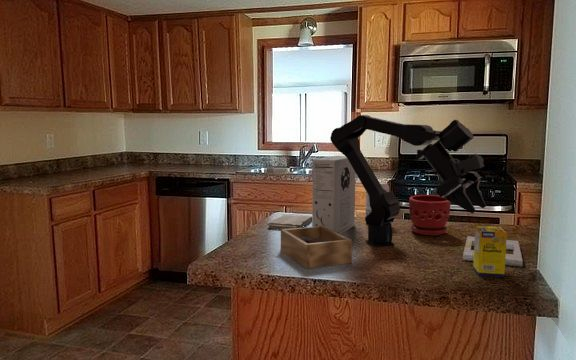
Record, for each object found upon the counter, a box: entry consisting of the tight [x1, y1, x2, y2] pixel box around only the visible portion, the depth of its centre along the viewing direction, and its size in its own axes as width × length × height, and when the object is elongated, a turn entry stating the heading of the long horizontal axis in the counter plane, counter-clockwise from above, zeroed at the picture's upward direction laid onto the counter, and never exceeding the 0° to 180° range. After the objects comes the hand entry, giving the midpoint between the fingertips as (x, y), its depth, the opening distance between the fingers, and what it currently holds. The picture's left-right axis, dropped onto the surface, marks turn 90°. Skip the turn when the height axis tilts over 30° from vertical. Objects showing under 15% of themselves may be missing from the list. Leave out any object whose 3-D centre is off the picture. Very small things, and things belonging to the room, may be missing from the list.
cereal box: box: [311, 155, 356, 235], centre depth 150 cm, size 22×8×25 cm, turn 154°
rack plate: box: [462, 235, 524, 267], centre depth 125 cm, size 22×14×2 cm, turn 155°
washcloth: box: [267, 214, 312, 231], centre depth 161 cm, size 12×18×3 cm, turn 161°
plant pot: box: [408, 194, 451, 236], centre depth 148 cm, size 13×13×12 cm
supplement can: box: [365, 181, 390, 217], centre depth 163 cm, size 8×8×15 cm
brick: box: [299, 236, 329, 244], centre depth 122 cm, size 11×4×5 cm, turn 59°
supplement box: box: [472, 225, 508, 278], centre depth 107 cm, size 6×6×11 cm
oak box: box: [280, 226, 353, 269], centre depth 121 cm, size 13×18×6 cm
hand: (479, 209), depth 116 cm, fingers open, 9 cm apart
